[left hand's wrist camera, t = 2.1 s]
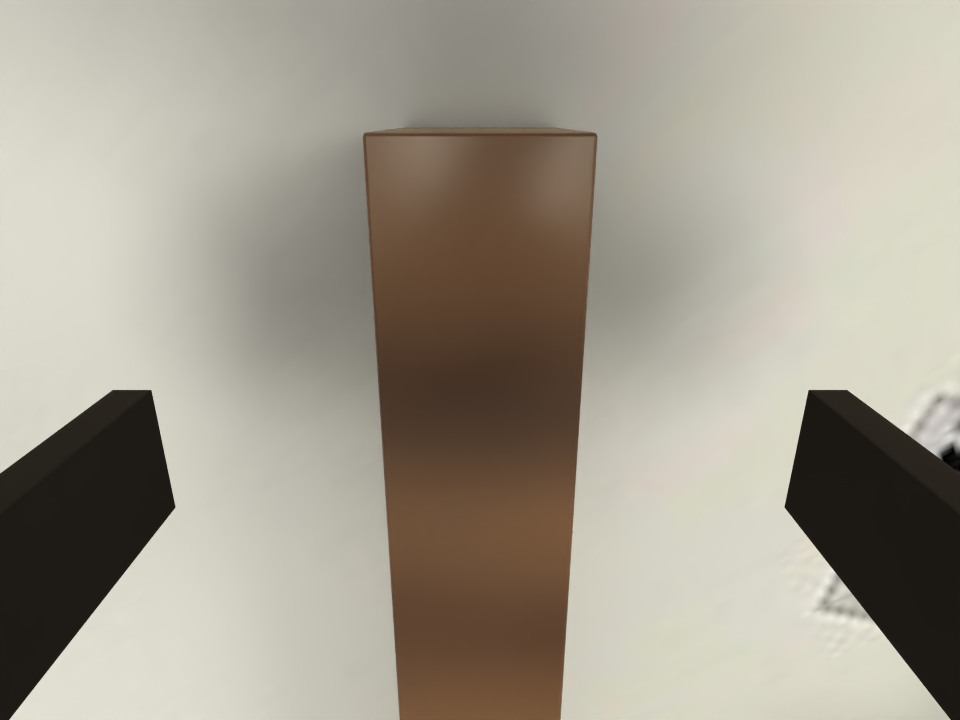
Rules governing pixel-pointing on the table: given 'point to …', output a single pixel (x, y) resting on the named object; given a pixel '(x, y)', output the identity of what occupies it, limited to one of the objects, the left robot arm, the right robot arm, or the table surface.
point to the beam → (480, 405)
